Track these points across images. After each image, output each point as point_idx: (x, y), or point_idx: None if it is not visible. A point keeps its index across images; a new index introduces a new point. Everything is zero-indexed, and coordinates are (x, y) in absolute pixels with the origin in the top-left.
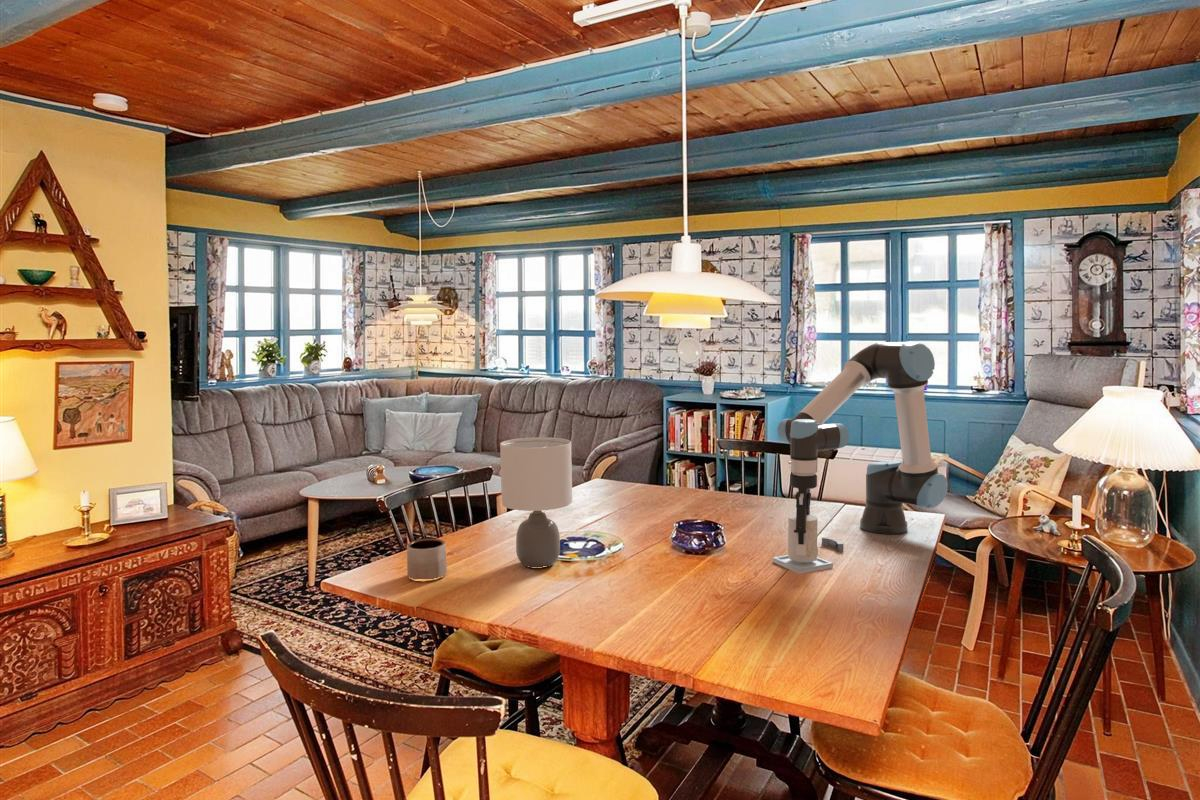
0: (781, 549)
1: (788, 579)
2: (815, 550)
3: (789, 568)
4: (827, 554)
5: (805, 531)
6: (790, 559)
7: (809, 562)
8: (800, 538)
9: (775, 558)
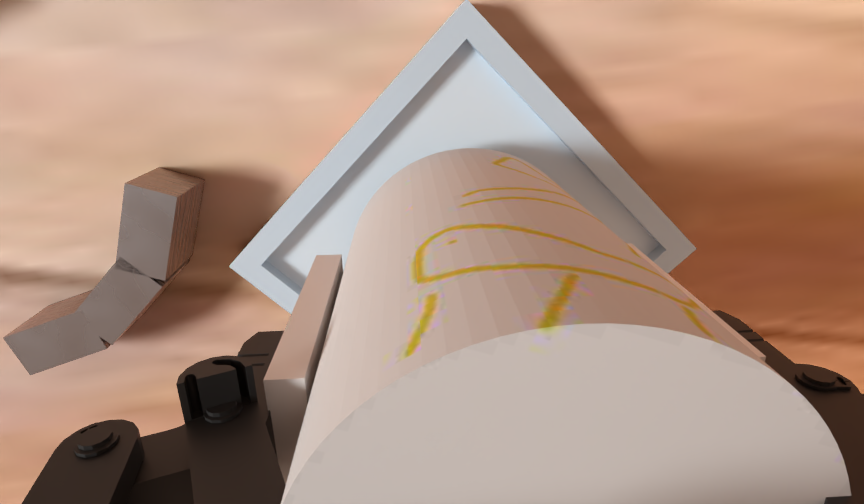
0: (144, 426)
1: (801, 284)
2: (537, 176)
3: None
4: (85, 87)
5: (843, 380)
6: None
7: None
8: None
9: None
